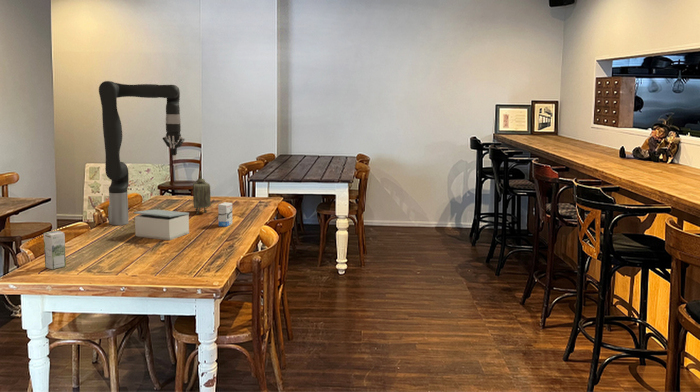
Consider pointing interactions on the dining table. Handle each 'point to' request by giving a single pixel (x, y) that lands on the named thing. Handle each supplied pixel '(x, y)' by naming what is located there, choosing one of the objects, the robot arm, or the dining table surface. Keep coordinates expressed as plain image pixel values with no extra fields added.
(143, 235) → the storage box
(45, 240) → the syrup box
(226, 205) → the ink box
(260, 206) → the dining table surface
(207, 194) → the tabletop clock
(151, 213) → the lid
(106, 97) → the robot arm
